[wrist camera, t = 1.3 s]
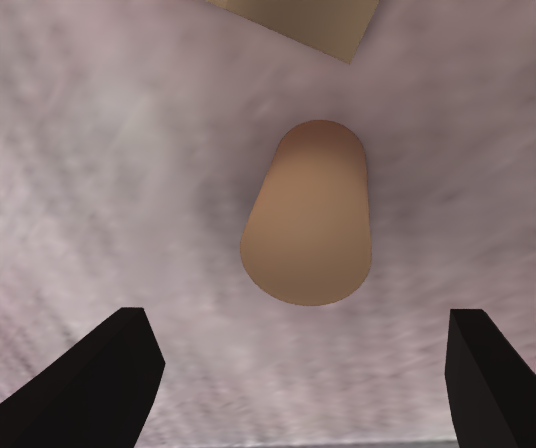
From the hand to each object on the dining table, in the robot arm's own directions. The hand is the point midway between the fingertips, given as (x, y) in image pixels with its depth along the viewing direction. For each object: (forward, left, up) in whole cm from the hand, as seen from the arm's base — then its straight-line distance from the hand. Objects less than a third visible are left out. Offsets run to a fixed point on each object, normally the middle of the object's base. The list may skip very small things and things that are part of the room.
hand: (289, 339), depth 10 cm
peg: (0, 0, -10) cm, 10 cm away
